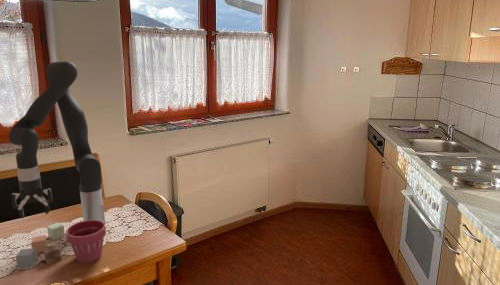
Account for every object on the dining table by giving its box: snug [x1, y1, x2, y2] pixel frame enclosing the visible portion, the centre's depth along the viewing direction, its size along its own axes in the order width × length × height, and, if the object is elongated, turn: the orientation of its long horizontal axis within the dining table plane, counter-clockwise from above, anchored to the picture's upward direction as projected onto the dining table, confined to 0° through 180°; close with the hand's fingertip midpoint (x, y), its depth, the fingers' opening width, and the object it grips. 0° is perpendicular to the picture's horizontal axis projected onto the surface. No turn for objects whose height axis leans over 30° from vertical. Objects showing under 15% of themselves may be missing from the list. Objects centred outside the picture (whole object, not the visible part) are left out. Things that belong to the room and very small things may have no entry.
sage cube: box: [46, 222, 66, 241], centre depth 173 cm, size 5×5×5 cm
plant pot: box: [65, 220, 107, 264], centre depth 155 cm, size 14×14×13 cm
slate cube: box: [15, 248, 37, 269], centre depth 152 cm, size 5×5×5 cm
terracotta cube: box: [30, 234, 48, 254], centre depth 162 cm, size 5×5×5 cm
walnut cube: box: [43, 243, 62, 265], centre depth 154 cm, size 5×5×5 cm
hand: (34, 215), depth 159 cm, fingers open, 8 cm apart
